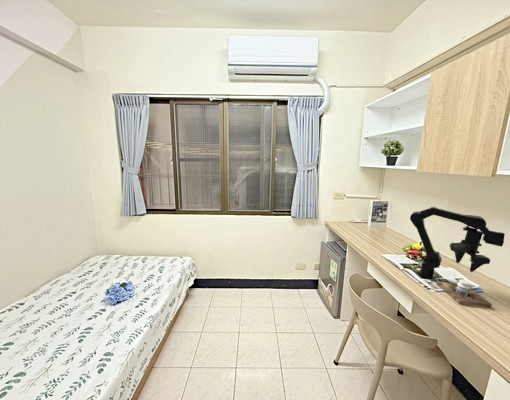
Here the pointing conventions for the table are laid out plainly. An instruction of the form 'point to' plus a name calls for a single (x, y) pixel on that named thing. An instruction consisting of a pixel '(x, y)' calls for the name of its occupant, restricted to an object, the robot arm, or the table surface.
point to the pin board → (471, 299)
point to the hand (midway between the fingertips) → (464, 267)
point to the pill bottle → (463, 288)
